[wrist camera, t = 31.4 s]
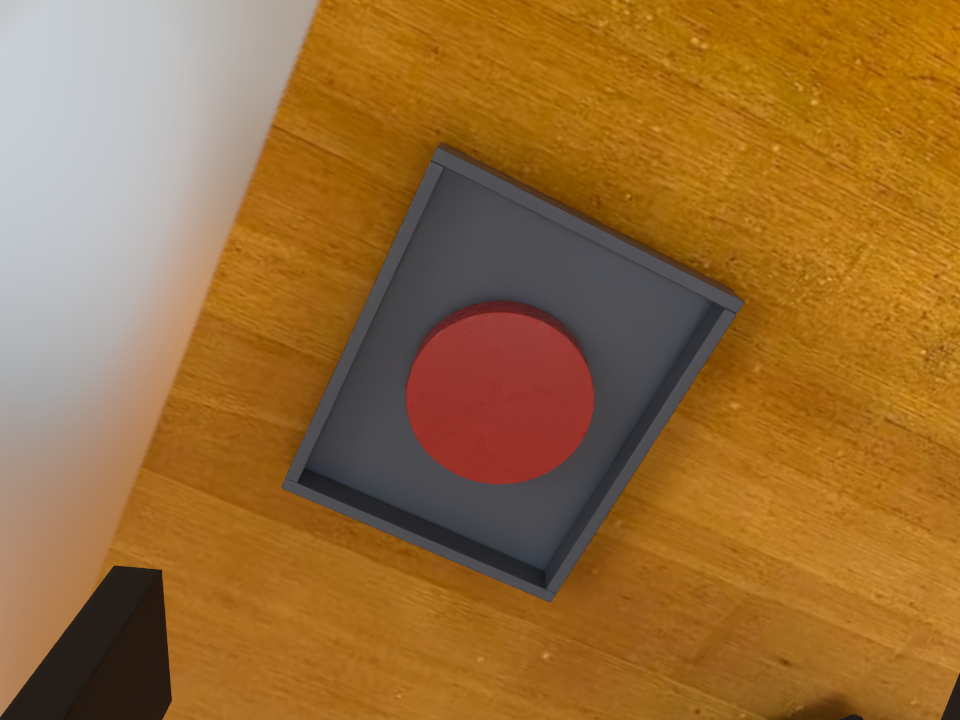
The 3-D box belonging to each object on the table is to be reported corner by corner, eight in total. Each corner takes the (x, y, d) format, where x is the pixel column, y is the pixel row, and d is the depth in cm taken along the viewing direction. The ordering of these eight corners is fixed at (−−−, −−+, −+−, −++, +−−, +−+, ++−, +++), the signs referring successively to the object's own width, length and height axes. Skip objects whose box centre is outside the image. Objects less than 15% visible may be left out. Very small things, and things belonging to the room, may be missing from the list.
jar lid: (402, 457, 37) (398, 475, 36) (413, 291, 34) (409, 302, 33) (577, 474, 38) (580, 492, 36) (603, 309, 35) (608, 322, 33)
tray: (440, 141, 33) (437, 146, 31) (732, 289, 35) (745, 302, 33) (290, 468, 38) (280, 488, 36) (548, 579, 40) (550, 603, 38)
